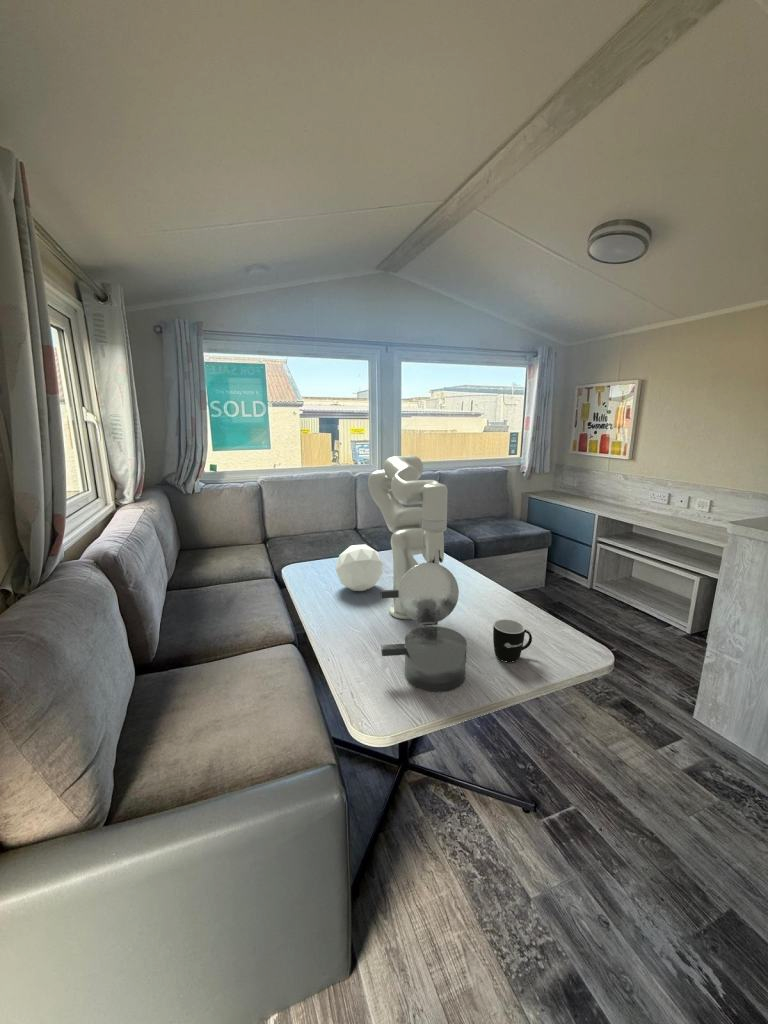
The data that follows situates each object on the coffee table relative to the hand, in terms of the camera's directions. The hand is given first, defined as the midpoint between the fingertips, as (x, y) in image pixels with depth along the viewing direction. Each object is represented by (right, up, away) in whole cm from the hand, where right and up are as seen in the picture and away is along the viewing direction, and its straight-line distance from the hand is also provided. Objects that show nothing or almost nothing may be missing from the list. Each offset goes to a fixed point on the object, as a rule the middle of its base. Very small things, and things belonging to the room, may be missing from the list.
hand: (433, 581), depth 133 cm
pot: (-4, -24, -14) cm, 28 cm away
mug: (+23, -22, -5) cm, 32 cm away
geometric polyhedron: (-26, -11, +46) cm, 54 cm away
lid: (-5, -3, -9) cm, 10 cm away
